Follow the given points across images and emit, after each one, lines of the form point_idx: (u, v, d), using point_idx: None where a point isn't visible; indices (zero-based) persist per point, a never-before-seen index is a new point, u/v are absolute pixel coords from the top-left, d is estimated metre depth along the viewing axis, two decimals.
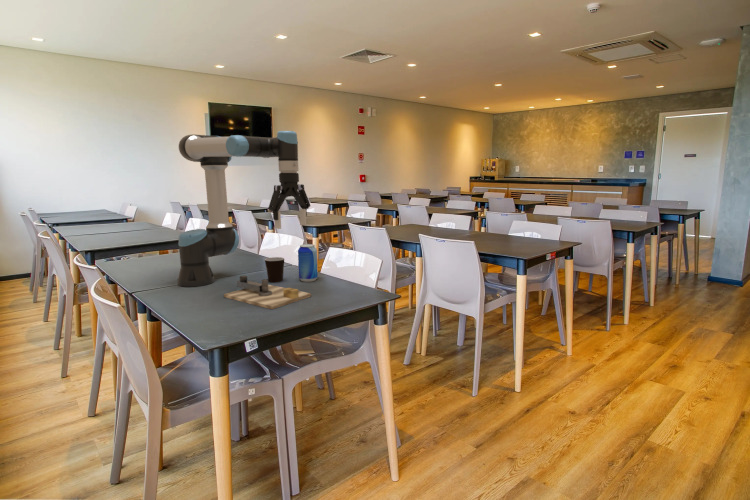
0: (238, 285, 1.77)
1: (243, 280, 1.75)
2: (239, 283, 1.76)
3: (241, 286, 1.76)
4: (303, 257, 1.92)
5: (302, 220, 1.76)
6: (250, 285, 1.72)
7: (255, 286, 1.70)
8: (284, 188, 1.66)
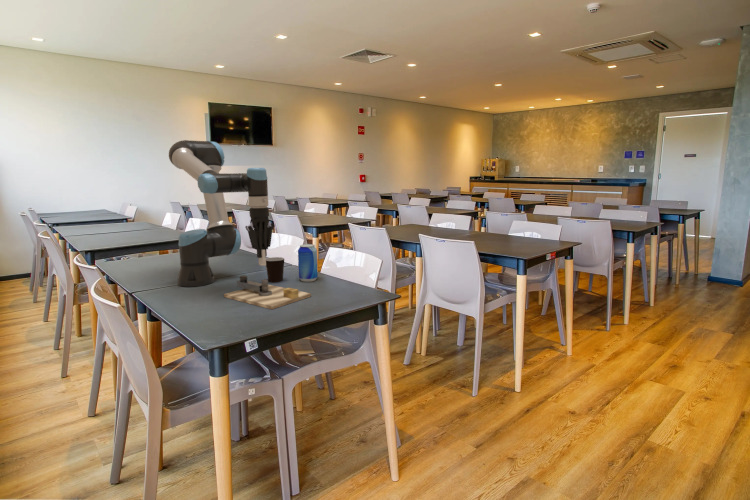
0: (238, 285, 1.77)
1: (243, 280, 1.75)
2: (239, 283, 1.76)
3: (241, 286, 1.76)
4: (303, 257, 1.92)
5: None
6: (250, 285, 1.72)
7: (255, 286, 1.70)
8: (254, 223, 1.70)
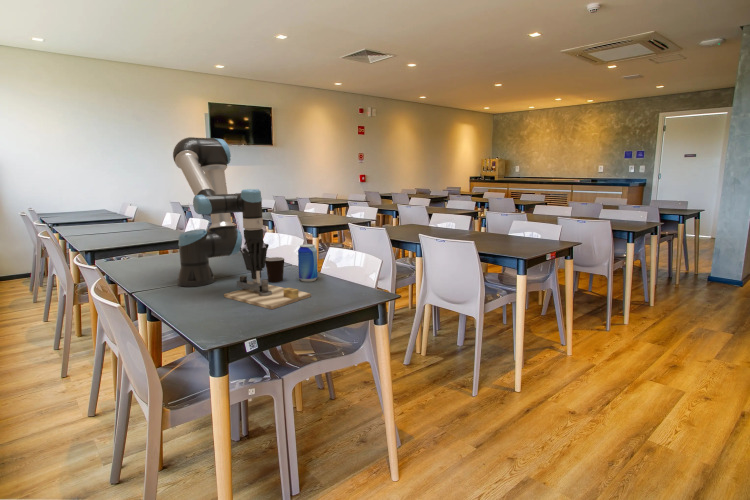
0: (238, 285, 1.77)
1: (243, 280, 1.75)
2: (239, 283, 1.76)
3: (241, 286, 1.76)
4: (303, 257, 1.92)
5: None
6: (250, 285, 1.72)
7: (255, 286, 1.70)
8: (248, 245, 1.69)
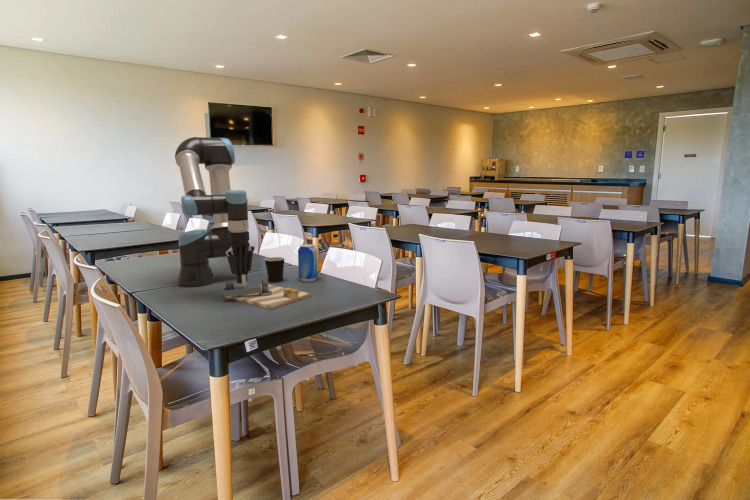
0: (225, 294, 1.64)
1: (232, 287, 1.65)
2: (227, 291, 1.64)
3: (231, 294, 1.64)
4: (303, 257, 1.92)
5: None
6: (246, 289, 1.66)
7: (255, 288, 1.67)
8: (234, 248, 1.63)
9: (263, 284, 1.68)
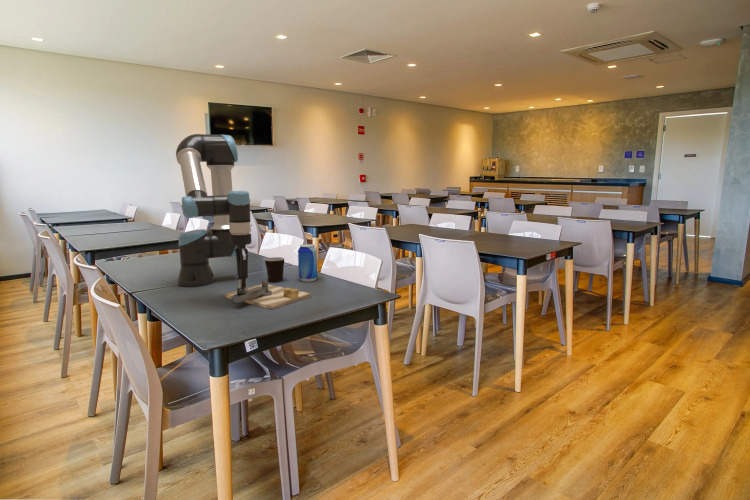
0: (241, 300, 1.56)
1: (244, 292, 1.58)
2: (242, 297, 1.57)
3: (245, 299, 1.58)
4: (303, 257, 1.92)
5: None
6: (255, 291, 1.63)
7: (261, 289, 1.65)
8: (245, 251, 1.58)
9: (263, 284, 1.68)
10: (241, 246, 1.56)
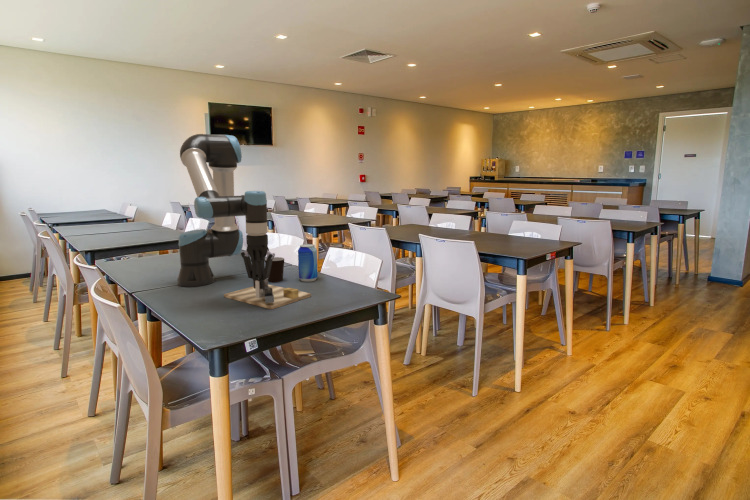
0: (273, 299, 1.57)
1: None
2: None
3: None
4: (303, 257, 1.92)
5: None
6: None
7: None
8: None
9: None
10: (265, 246, 1.56)
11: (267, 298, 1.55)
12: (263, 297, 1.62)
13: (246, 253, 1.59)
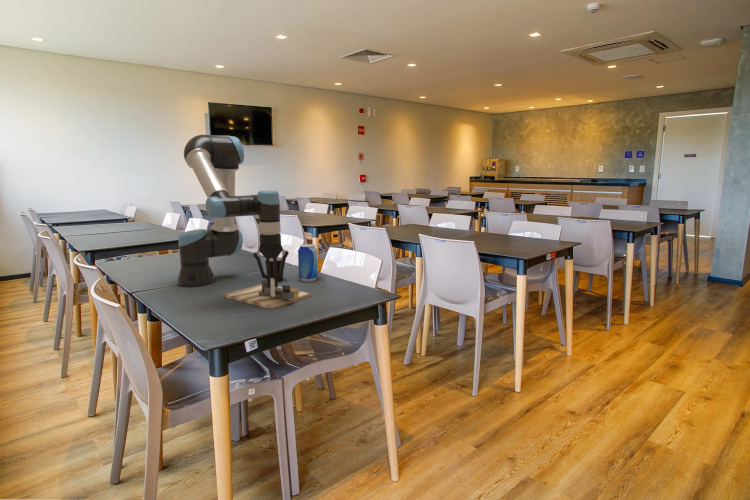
0: None
1: None
2: None
3: None
4: (303, 257, 1.92)
5: None
6: None
7: None
8: None
9: (263, 284, 1.68)
10: None
11: (289, 294, 1.59)
12: (275, 295, 1.63)
13: (258, 253, 1.58)
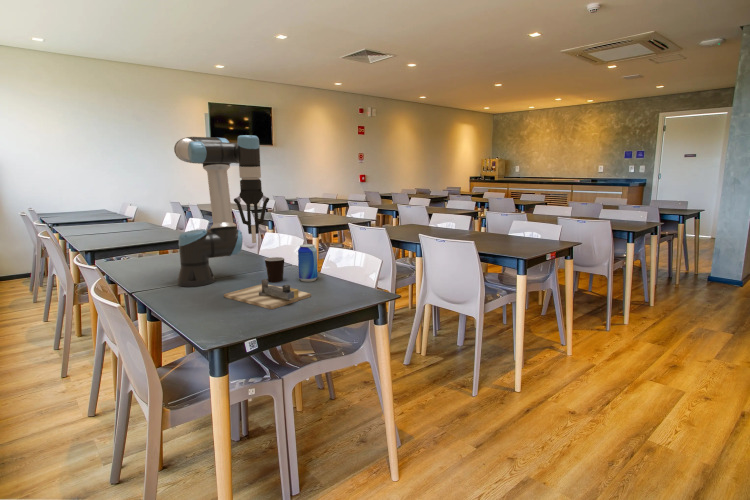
0: None
1: None
2: None
3: None
4: (303, 257, 1.92)
5: None
6: None
7: None
8: None
9: (263, 284, 1.68)
10: (261, 190, 1.60)
11: (289, 294, 1.59)
12: (275, 295, 1.63)
13: (239, 199, 1.59)
